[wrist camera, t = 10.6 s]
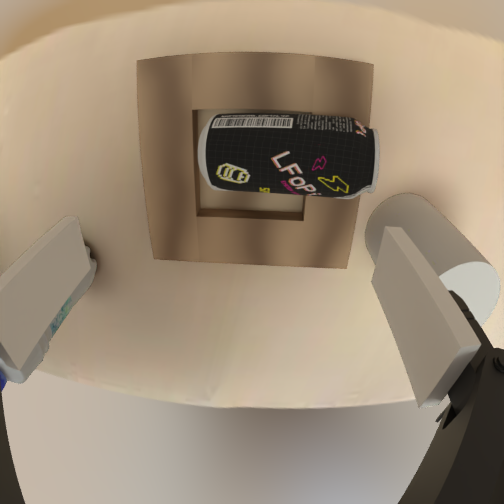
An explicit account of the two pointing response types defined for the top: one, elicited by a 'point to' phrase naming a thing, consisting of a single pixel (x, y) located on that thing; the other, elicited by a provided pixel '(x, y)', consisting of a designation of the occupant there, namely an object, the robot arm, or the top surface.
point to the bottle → (47, 332)
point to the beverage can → (289, 154)
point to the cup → (439, 250)
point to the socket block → (237, 202)
